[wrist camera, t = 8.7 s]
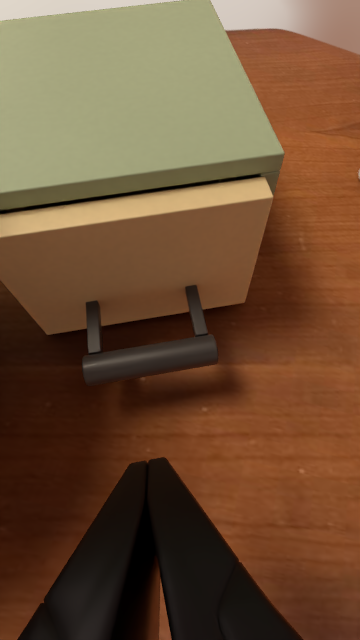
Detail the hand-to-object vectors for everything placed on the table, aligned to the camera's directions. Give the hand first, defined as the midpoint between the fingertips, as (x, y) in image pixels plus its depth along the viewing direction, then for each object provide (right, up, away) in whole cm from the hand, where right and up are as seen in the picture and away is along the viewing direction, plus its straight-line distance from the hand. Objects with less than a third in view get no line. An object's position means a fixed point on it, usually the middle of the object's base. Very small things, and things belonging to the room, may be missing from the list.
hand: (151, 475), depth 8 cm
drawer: (-2, +7, +13) cm, 15 cm away
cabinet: (-3, +10, +16) cm, 19 cm away
